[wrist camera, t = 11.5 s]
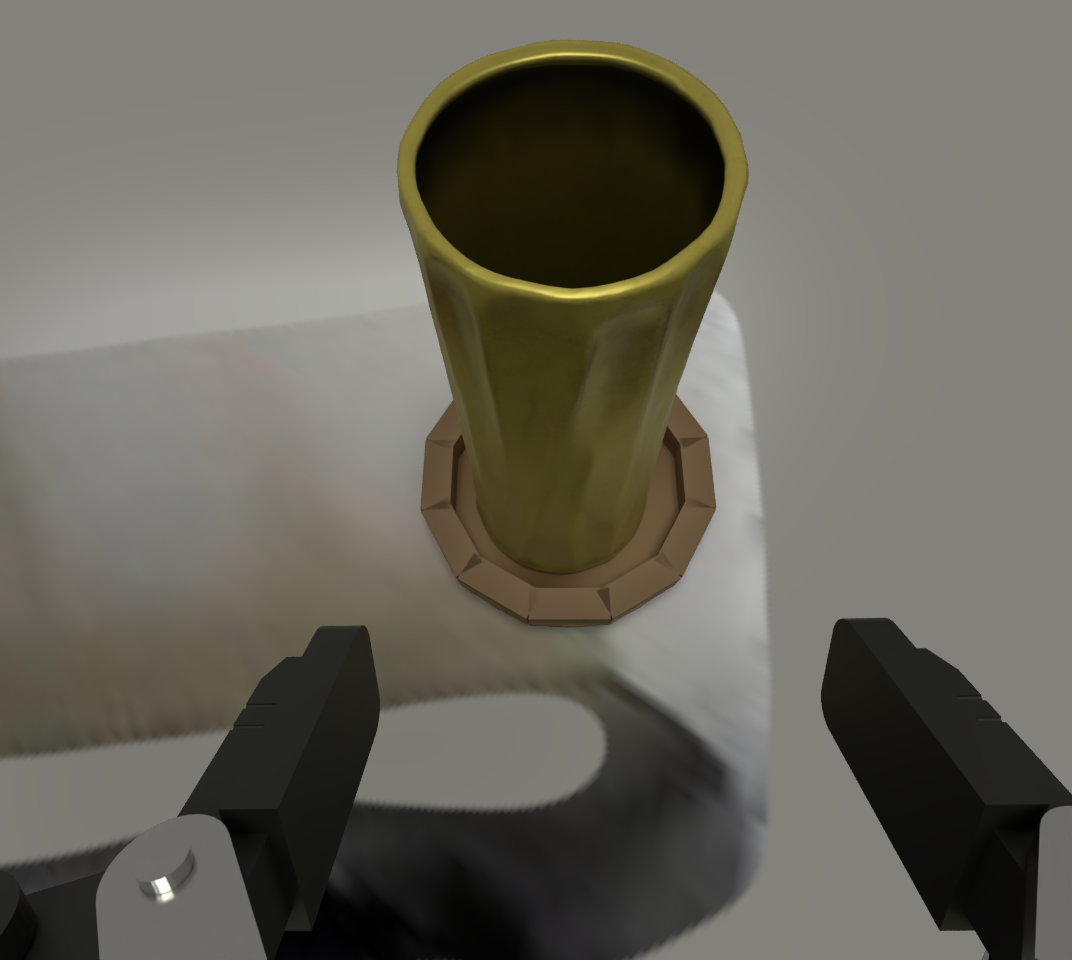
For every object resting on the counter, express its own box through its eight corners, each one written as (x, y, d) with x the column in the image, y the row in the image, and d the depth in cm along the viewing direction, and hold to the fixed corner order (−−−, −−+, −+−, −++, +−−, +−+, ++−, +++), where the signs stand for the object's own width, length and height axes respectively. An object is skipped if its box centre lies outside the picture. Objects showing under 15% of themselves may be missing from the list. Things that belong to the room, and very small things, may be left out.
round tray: (423, 627, 21) (412, 619, 20) (440, 376, 25) (432, 351, 23) (714, 626, 21) (728, 618, 19) (688, 373, 25) (698, 347, 23)
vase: (553, 612, 21) (553, 416, 7) (442, 485, 22) (281, 144, 9) (680, 499, 22) (873, 161, 9) (566, 388, 24) (581, -32, 11)
